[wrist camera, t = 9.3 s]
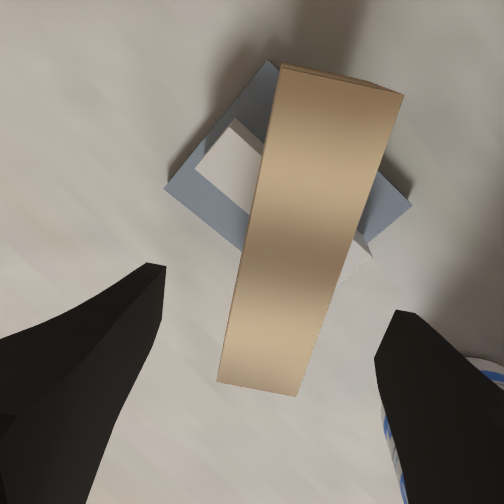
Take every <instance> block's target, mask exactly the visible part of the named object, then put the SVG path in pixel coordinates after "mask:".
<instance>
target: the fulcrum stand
mask: <svg viewBox="0 0 504 504" xmlns="http://www.w3.org/2000/svg"><path fill="white" fill-rule="evenodd" d="M278 76H279V70H278V69H277V68H276V67H275V66H274V65H273V64H272V63H271V62H270V61H269V60H267V61H266V62H265V64H264V65H263V66H262V67H261V69H260V70H259V71H258V72H257V74H256V75H255V76H254V77H253V79H252V80H251V81H250V82H249V83H248V85H247V86H246V87H245V88H244V90H243V91H242V92H241V93H240V95H239V96H238V97H237V98H236V100H235V101H234V102H233V103H232V105H231V106H230V107H229V108H228V109H227V111H226V112H225V113H224V114H223V116H222V117H221V118H220V119H219V121H218V122H217V123H216V124H215V126H214V127H213V128H212V129H211V131H210V132H209V133H208V134H207V135H206V137H205V138H204V139H203V140H202V142H201V143H200V144H199V145H198V147H197V148H196V149H195V150H194V152H193V153H192V154H191V155H190V157H189V158H188V159H187V160H186V162H185V163H184V164H183V165H182V166H181V168H180V169H179V170H178V171H177V173H176V174H175V175H174V176H173V178H172V179H171V180H170V181H169V183H168V184H167V185H166V186H165V188H164V189H165V190H166V191H167V192H168V193H169V194H171V195H172V196H173V197H174V198H176V199H177V200H178V201H179V202H181V203H182V204H183V205H184V206H186V207H187V208H188V209H189V210H191V211H192V212H193V213H194V214H196V215H197V216H198V217H199V218H201V219H202V220H203V221H204V222H206V223H207V224H208V225H209V226H211V227H212V228H213V229H214V230H216V231H217V232H218V233H219V234H221V235H222V236H223V237H224V238H225V239H227V240H228V241H229V242H230V243H232V244H233V245H234V246H235V247H237V248H238V249H239V250H240V251H242V250H243V245H244V240H245V235H246V230H247V226H248V221H249V216H250V211H251V206H252V202H253V197H254V192H255V187H256V182H257V177H258V173H259V168H260V163H261V158H262V153H263V149H264V144H265V139H266V134H267V129H268V124H269V120H270V115H271V110H272V105H273V100H274V96H275V91H276V86H277V81H278ZM411 206H412V204H411V203H410V202H409V201H408V200H407V199H406V198H405V197H404V196H403V195H402V194H401V193H400V192H399V191H398V190H397V189H396V188H395V187H394V186H393V185H392V184H391V183H390V182H389V181H388V180H387V179H386V178H385V177H384V176H383V175H382V174H381V173H380V172H379V171H378V170H377V173H376V176H375V179H374V181H373V184H372V187H371V190H370V193H369V195H368V198H367V201H366V204H365V207H364V209H363V212H362V215H361V218H360V220H359V223H358V226H357V229H356V232H355V234H354V237H353V240H352V243H351V246H350V248H349V251H348V254H347V257H346V259H345V262H344V265H343V268H342V271H341V273H340V276H339V279H338V282H337V285H336V287H337V286H338V285H340V284H341V283H342V282H343V281H344V280H346V279H347V278H348V277H349V276H351V275H352V274H353V273H354V272H356V271H357V270H358V269H359V268H360V267H362V266H363V265H364V264H365V263H367V262H368V261H369V260H370V259H372V258H373V256H372V254H371V252H370V250H369V247H368V245H367V243H368V242H370V241H371V240H372V239H373V238H374V237H376V236H377V235H378V234H379V233H380V232H381V231H383V230H384V229H385V228H386V227H387V226H389V225H390V224H391V223H392V222H393V221H395V220H396V219H397V218H398V217H399V216H401V215H402V214H403V213H404V212H405V211H407V210H408V209H409V208H410V207H411ZM336 287H335V288H336Z"/></svg>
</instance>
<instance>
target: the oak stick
mask: <svg viewBox="0 0 504 504" xmlns="http://www.w3.org/2000/svg"><path fill="white" fill-rule="evenodd" d="M403 98H404V95H403V94H401V93H398V92H395V91H393V90H390V89H387V88H385V87H382V86H379V85H377V84H374V83H371V82H369V81H365V80H361V79H356V78H352V77H347V76H343V75H338V74H333V73H329V72H324V71H320V70H315V69H311V68H306V67H302V66H297V65H293V64H288V63H284V62H281V67H280V71H279V76H278V81H277V86H276V91H275V96H274V100H273V105H272V110H271V115H270V120H269V124H268V129H267V134H266V139H265V144H264V149H263V153H262V158H261V163H260V168H259V173H258V177H257V182H256V187H255V192H254V197H253V202H252V206H251V211H250V216H249V221H248V226H247V230H246V235H245V240H244V245H243V250H242V255H241V259H240V264H239V269H238V274H237V279H236V284H235V288H234V293H233V298H232V303H231V308H230V313H229V318H228V323H227V328H226V334H225V339H224V344H223V349H222V355H221V360H220V365H219V371H218V376H217V381H216V382H220V383H225V384H231V385H236V386H241V387H246V388H252V389H257V390H262V391H267V392H273V393H278V394H283V395H288V396H294V397H296V396H297V393H298V390H299V388H300V385H301V382H302V379H303V376H304V374H305V371H306V368H307V365H308V363H309V360H310V357H311V354H312V351H313V349H314V346H315V343H316V340H317V337H318V335H319V332H320V329H321V326H322V324H323V321H324V318H325V315H326V312H327V310H328V307H329V304H330V301H331V298H332V296H333V293H334V290H335V287H336V285H337V282H338V279H339V276H340V273H341V271H342V268H343V265H344V262H345V259H346V257H347V254H348V251H349V248H350V246H351V243H352V240H353V237H354V234H355V232H356V229H357V226H358V223H359V220H360V218H361V215H362V212H363V209H364V207H365V204H366V201H367V198H368V195H369V193H370V190H371V187H372V184H373V181H374V179H375V176H376V173H377V170H378V168H379V165H380V162H381V159H382V156H383V154H384V151H385V148H386V145H387V142H388V140H389V137H390V134H391V131H392V129H393V126H394V123H395V120H396V117H397V115H398V112H399V109H400V106H401V103H402V101H403Z"/></svg>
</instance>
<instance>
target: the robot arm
mask: <svg viewBox="0 0 504 504" xmlns="http://www.w3.org/2000/svg"><path fill="white" fill-rule="evenodd" d="M165 277H166V266H163V265H158V264H152V263H145V264H144V265H142V266H140V267H139V268H137V269H136V270H134V271H133V272H131V273H130V274H129V275H127V276H126V277H124V278H123V279H121V280H120V281H118V282H117V283H115V284H114V285H112V286H110V287H109V288H107V289H106V290H104V291H103V292H101V293H99V294H98V295H96V296H94V297H93V298H91V299H89V300H87V301H85V302H84V303H82V304H80V305H78V306H77V307H75V308H73V309H71V310H69V311H67V312H65V313H63V314H61V315H59V316H57V317H54V318H52V319H50V320H48V321H45V322H43V323H41V324H39V325H36V326H34V327H31V328H28V329H26V330H23V331H20V332H18V333H15V334H12V335H10V336H7V337H4V338H2V339H0V504H86V501H87V498H88V495H89V492H90V490H91V487H92V484H93V481H94V479H95V476H96V473H97V470H98V468H99V465H100V462H101V459H102V457H103V454H104V451H105V449H106V446H107V443H108V441H109V438H110V435H111V433H112V430H113V427H114V425H115V422H116V420H117V418H118V416H119V413H120V411H121V409H122V407H123V405H124V403H125V401H126V399H127V397H128V395H129V393H130V391H131V389H132V387H133V385H134V383H135V381H136V379H137V377H138V375H139V373H140V371H141V369H142V367H143V365H144V362H145V360H146V358H147V356H148V354H149V352H150V350H151V348H152V346H153V343H154V340H155V337H156V334H157V331H158V329H159V326H160V323H161V320H162V310H163V299H164V288H165ZM374 362H375V370H376V377H377V384H378V389H379V393H380V396H381V400H382V403H383V407H384V410H385V414H386V417H387V420H388V424H389V427H390V430H391V434H392V437H393V440H394V444H395V447H396V450H397V454H398V457H399V461H400V465H401V469H402V473H403V478H404V483H405V489H406V494H407V499H408V504H504V390H503V389H501V388H500V387H499V386H498V385H497V384H495V383H494V382H493V381H492V380H491V379H489V378H488V377H487V376H486V375H485V374H483V373H482V372H481V371H480V370H479V369H477V368H476V367H475V366H474V365H473V364H472V363H471V362H469V361H468V360H467V359H466V358H465V357H464V356H463V355H462V354H461V353H459V352H458V351H457V350H456V349H455V348H454V347H453V346H452V345H451V344H450V343H449V342H447V341H446V340H445V339H444V338H443V337H442V336H441V335H440V334H439V333H438V332H437V331H436V330H434V329H433V328H432V327H431V326H430V325H429V324H428V323H427V322H425V321H424V320H423V319H422V318H421V317H419V316H418V315H417V314H415V313H412V312H406V311H401V310H395V313H394V315H393V317H392V319H391V321H390V324H389V326H388V328H387V330H386V333H385V335H384V337H383V339H382V341H381V344H380V346H379V348H378V350H377V353H376V355H375V357H374Z"/></svg>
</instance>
